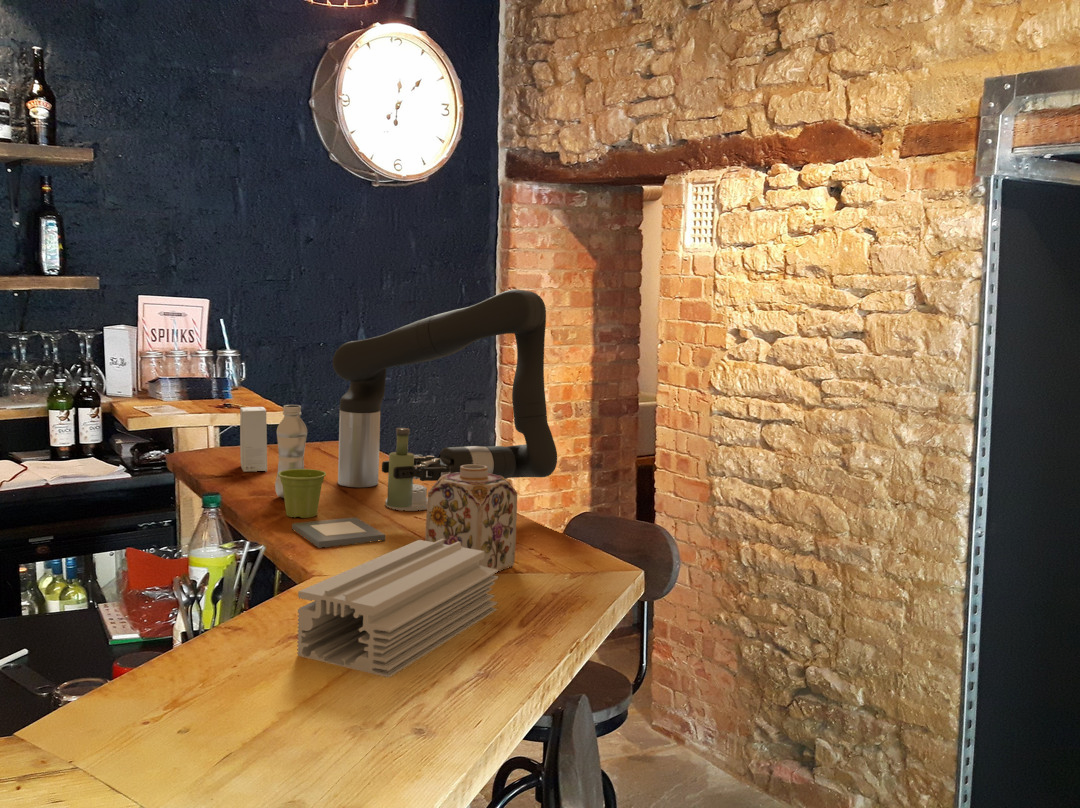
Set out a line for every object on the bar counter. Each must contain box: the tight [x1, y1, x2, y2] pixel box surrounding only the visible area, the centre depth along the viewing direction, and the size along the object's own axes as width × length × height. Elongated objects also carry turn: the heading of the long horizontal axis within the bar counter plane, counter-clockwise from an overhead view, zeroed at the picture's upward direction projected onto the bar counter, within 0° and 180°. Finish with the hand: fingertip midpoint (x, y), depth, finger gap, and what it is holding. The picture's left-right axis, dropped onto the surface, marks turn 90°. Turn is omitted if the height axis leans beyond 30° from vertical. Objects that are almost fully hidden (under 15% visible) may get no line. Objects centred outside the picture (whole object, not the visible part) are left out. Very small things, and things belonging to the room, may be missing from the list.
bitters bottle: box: [386, 427, 415, 508], centre depth 203 cm, size 5×5×15 cm
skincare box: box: [239, 406, 268, 473], centre depth 252 cm, size 8×6×15 cm
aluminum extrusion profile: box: [296, 539, 499, 678], centre depth 149 cm, size 14×31×10 cm, turn 156°
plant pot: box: [278, 468, 327, 519], centre depth 211 cm, size 9×9×9 cm
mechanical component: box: [384, 483, 428, 512], centre depth 224 cm, size 10×4×10 cm
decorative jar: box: [424, 464, 518, 572], centre depth 180 cm, size 12×12×18 cm
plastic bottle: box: [274, 404, 308, 499], centre depth 224 cm, size 6×7×20 cm
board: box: [291, 516, 386, 549], centre depth 198 cm, size 14×13×1 cm
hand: (388, 470), depth 202 cm, fingers closed on bitters bottle, 4 cm apart
